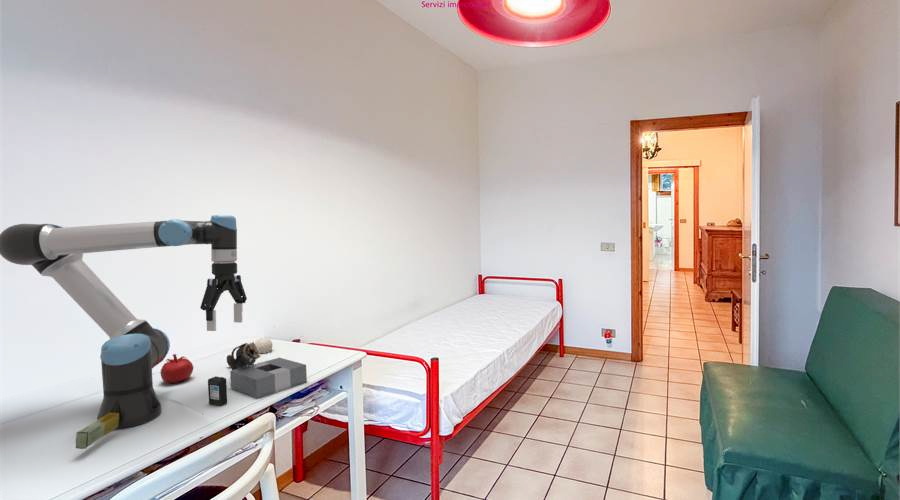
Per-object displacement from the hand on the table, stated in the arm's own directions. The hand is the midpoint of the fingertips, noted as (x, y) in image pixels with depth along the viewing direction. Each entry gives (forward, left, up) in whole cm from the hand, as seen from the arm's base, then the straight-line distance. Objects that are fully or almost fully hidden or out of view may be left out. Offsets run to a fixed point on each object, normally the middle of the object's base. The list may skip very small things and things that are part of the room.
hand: (225, 326), depth 149 cm
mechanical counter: (+13, +16, -21) cm, 30 cm away
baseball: (+30, +29, -21) cm, 47 cm away
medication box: (-37, -8, -21) cm, 44 cm away
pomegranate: (-6, +24, -21) cm, 33 cm away
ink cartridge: (-9, -12, -21) cm, 26 cm away
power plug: (+6, +7, -22) cm, 24 cm away
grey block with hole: (+9, -10, -21) cm, 25 cm away
